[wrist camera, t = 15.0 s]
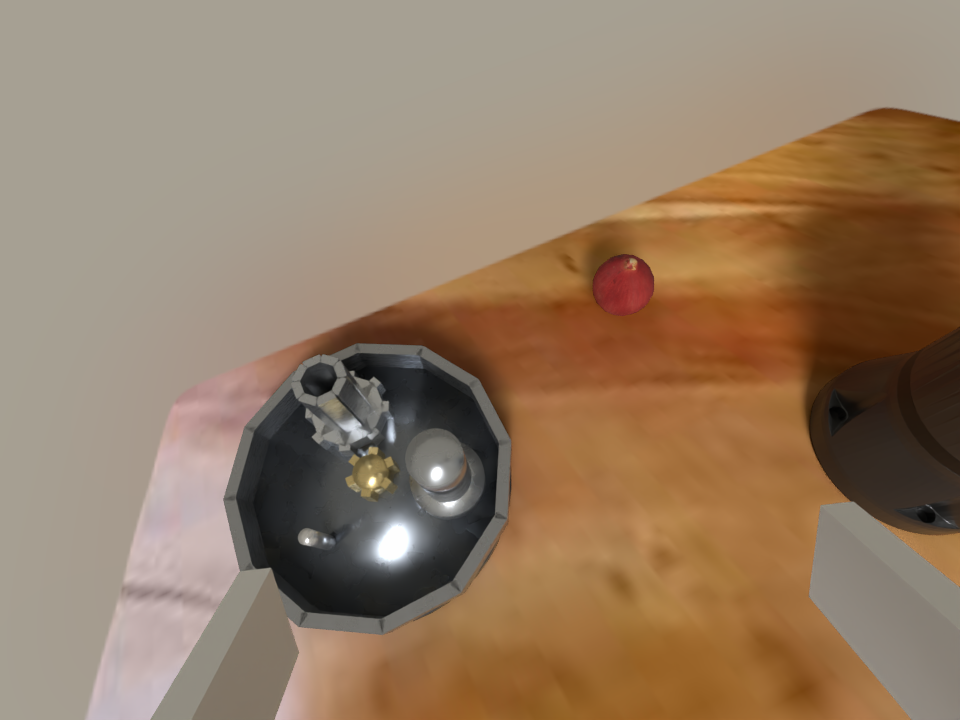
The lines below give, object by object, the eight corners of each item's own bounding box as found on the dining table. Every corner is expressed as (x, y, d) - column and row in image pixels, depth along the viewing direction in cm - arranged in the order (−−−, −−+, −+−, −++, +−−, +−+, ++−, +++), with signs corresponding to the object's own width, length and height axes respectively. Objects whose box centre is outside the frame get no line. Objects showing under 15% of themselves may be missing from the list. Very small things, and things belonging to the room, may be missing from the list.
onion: (580, 289, 52) (590, 241, 45) (632, 277, 53) (650, 227, 46) (598, 335, 50) (612, 292, 43) (652, 322, 50) (675, 277, 43)
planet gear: (376, 368, 48) (347, 323, 40) (404, 433, 45) (379, 398, 37) (305, 400, 47) (261, 361, 39) (328, 469, 44) (286, 441, 36)
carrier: (446, 327, 52) (430, 268, 42) (560, 544, 42) (572, 530, 32) (228, 426, 48) (157, 386, 39) (294, 686, 39) (221, 716, 29)
